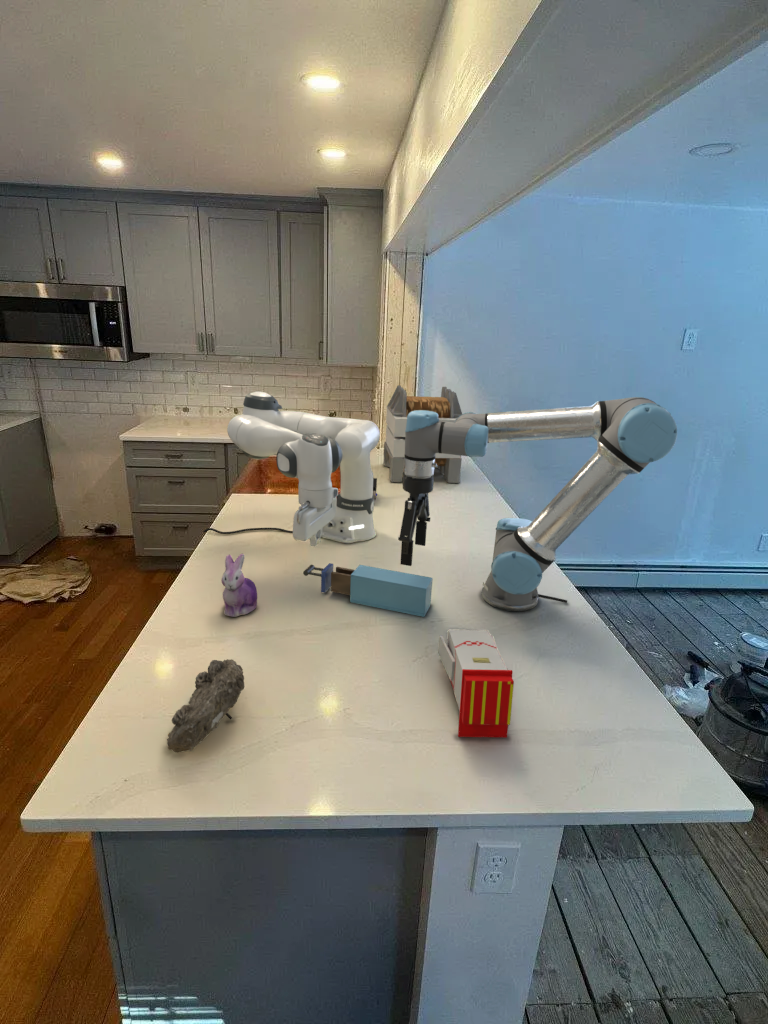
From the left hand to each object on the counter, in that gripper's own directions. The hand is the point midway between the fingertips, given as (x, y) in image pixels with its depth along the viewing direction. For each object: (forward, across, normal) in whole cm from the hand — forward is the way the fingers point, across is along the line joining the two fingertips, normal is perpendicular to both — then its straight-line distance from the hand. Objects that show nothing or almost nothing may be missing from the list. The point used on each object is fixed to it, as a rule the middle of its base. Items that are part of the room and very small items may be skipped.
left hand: (315, 544), depth 154 cm
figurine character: (+13, +80, +12) cm, 82 cm away
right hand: (-2, 0, -28) cm, 28 cm away
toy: (+14, -30, -49) cm, 59 cm away
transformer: (+13, +128, +3) cm, 129 cm away
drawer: (+12, 0, -10) cm, 16 cm away
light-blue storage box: (+13, 0, -22) cm, 26 cm away
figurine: (+14, -18, +13) cm, 26 cm away
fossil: (+14, -55, -4) cm, 57 cm away
